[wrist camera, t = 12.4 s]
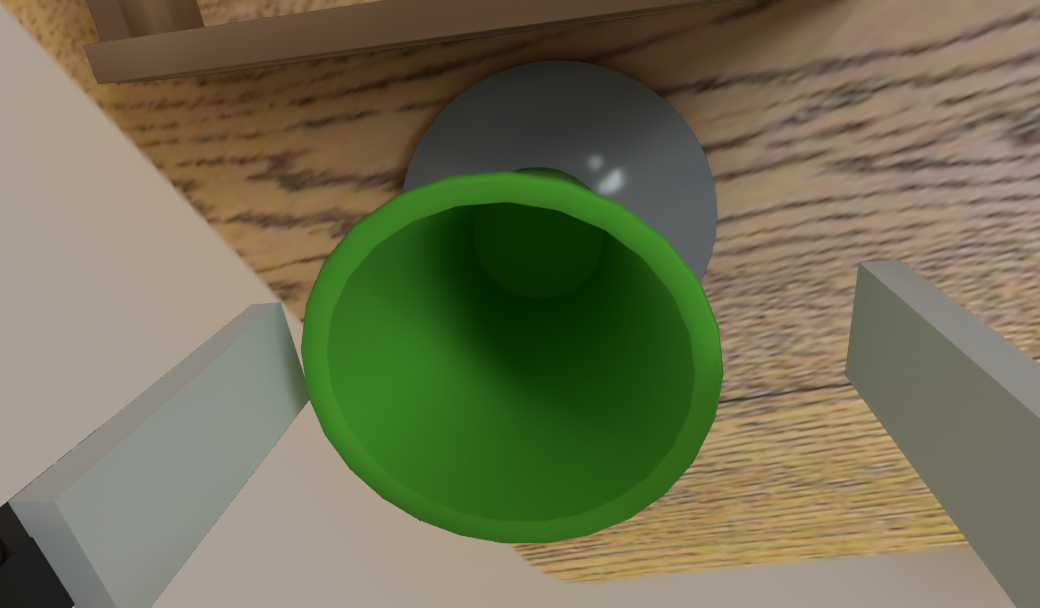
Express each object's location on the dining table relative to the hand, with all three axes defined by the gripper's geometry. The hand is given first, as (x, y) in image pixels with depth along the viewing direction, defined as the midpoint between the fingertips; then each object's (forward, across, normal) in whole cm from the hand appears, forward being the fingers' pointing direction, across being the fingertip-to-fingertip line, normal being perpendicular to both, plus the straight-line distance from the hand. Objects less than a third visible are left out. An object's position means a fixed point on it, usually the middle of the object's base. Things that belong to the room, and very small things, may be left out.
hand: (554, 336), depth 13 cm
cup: (+10, -1, 0) cm, 10 cm away
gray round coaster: (+10, -1, 0) cm, 10 cm away
